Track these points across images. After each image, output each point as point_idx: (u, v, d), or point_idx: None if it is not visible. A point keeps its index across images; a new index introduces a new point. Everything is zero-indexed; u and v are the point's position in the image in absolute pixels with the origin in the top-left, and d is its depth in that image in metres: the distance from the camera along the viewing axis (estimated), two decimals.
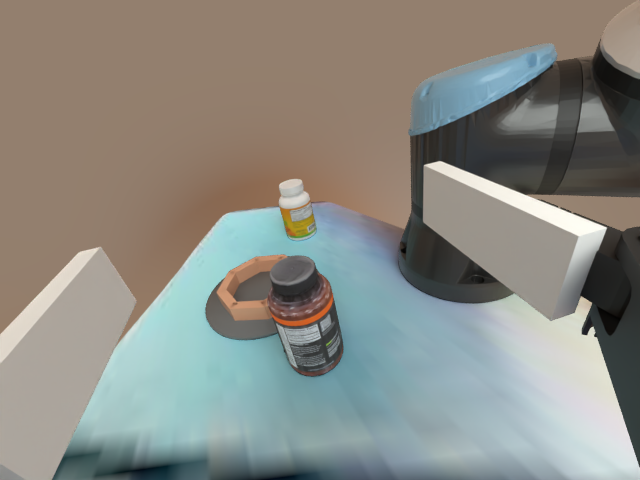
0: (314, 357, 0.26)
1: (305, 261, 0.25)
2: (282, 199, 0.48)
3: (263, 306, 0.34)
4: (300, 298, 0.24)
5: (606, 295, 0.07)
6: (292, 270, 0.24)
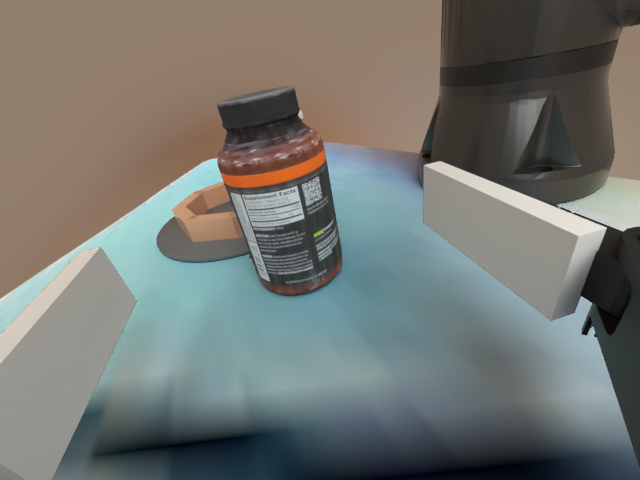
0: (293, 257, 0.16)
1: (279, 87, 0.15)
2: None
3: (230, 217, 0.24)
4: (267, 134, 0.14)
5: (606, 295, 0.07)
6: (255, 93, 0.14)
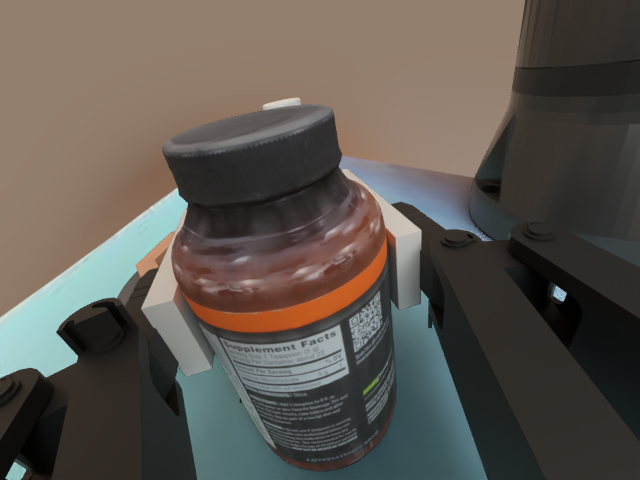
0: (324, 431, 0.08)
1: (298, 107, 0.07)
2: None
3: None
4: (275, 221, 0.06)
5: (433, 293, 0.08)
6: (247, 123, 0.06)
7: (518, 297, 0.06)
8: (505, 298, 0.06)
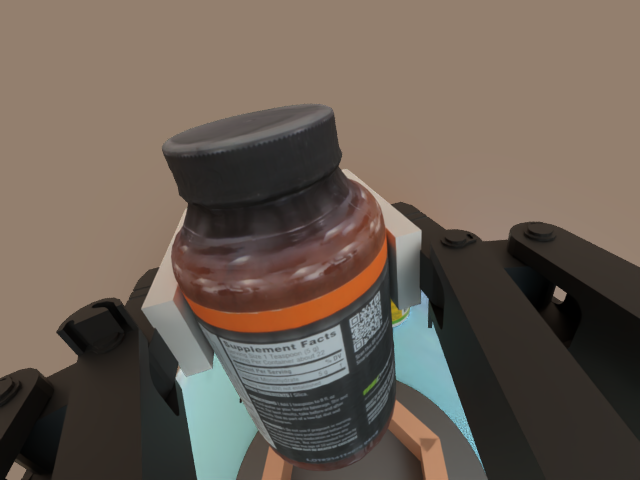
0: (324, 431, 0.08)
1: (298, 107, 0.07)
2: None
3: None
4: (276, 221, 0.06)
5: (433, 293, 0.08)
6: (248, 122, 0.06)
7: (518, 297, 0.06)
8: (505, 298, 0.06)
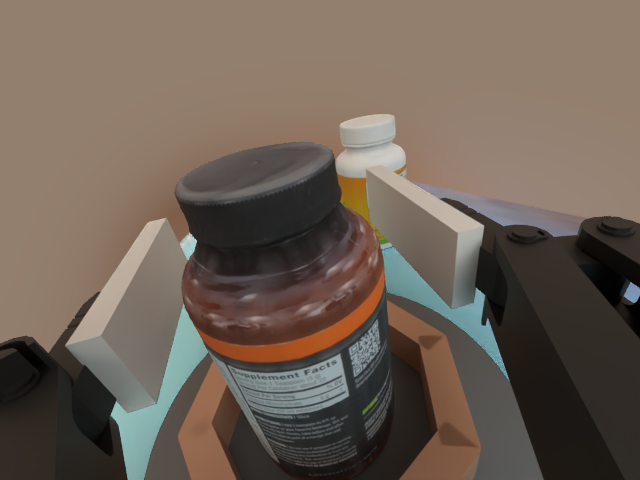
0: (325, 449, 0.09)
1: (301, 147, 0.08)
2: (347, 158, 0.21)
3: None
4: (281, 261, 0.06)
5: (492, 289, 0.08)
6: (254, 166, 0.07)
7: (596, 298, 0.05)
8: (580, 298, 0.05)
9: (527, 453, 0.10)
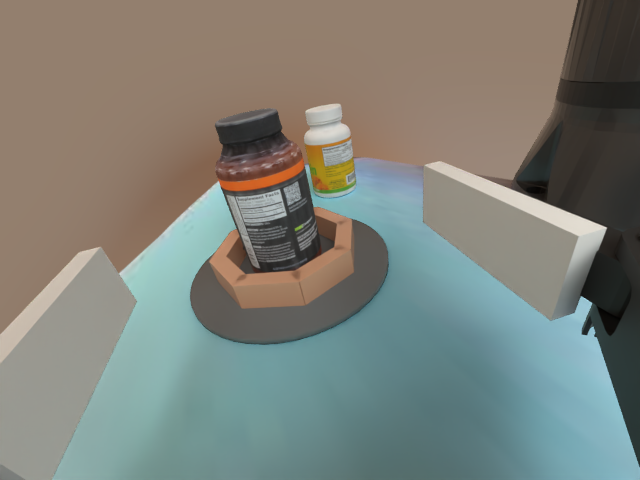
0: (279, 247, 0.20)
1: (265, 109, 0.19)
2: (310, 132, 0.32)
3: (296, 280, 0.18)
4: (255, 149, 0.17)
5: (606, 295, 0.07)
6: (245, 115, 0.18)
7: None
8: None
9: (381, 263, 0.21)
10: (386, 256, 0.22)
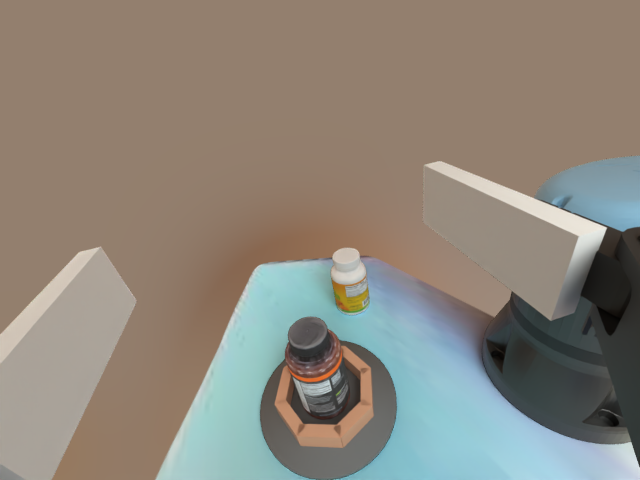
0: (325, 405, 0.30)
1: (318, 324, 0.29)
2: (336, 273, 0.42)
3: (338, 436, 0.28)
4: (315, 358, 0.28)
5: (606, 295, 0.07)
6: (307, 333, 0.28)
7: None
8: None
9: (391, 409, 0.32)
10: (395, 401, 0.32)
